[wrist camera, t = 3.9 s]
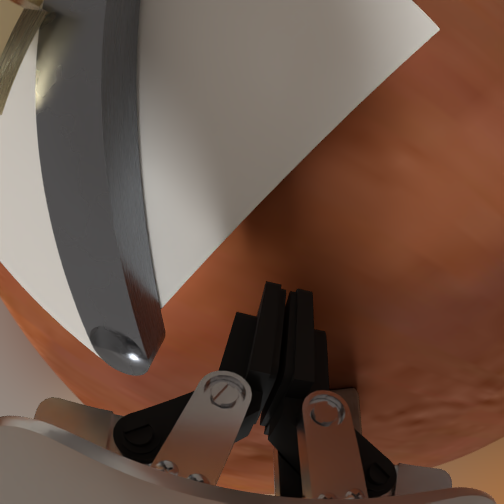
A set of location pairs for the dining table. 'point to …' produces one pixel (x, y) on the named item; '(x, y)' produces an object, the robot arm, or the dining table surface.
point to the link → (97, 174)
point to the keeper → (16, 38)
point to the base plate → (208, 123)
